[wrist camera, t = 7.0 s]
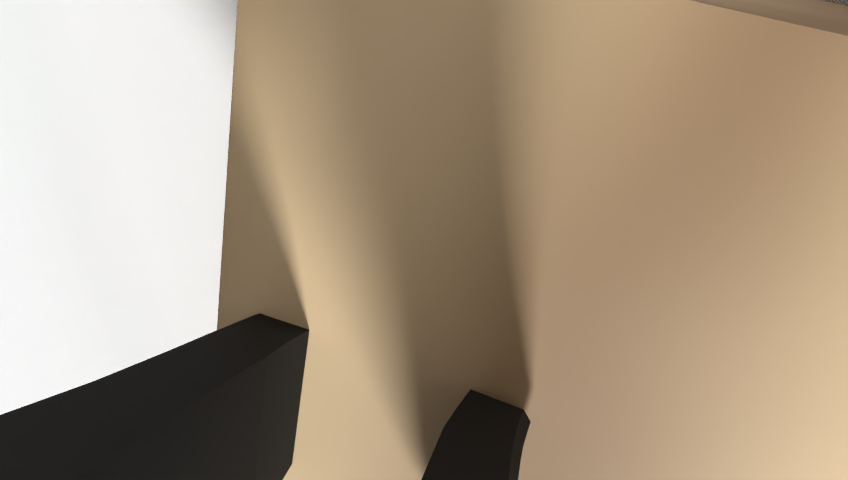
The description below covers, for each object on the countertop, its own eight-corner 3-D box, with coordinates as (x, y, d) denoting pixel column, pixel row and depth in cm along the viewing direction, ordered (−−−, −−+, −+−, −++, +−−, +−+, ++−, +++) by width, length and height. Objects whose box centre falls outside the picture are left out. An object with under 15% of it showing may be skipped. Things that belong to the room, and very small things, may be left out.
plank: (1228, 88, 7) (1397, 159, 6) (784, 735, 12) (807, 871, 11) (320, -111, 9) (243, -100, 7) (250, 552, 14) (196, 650, 12)
